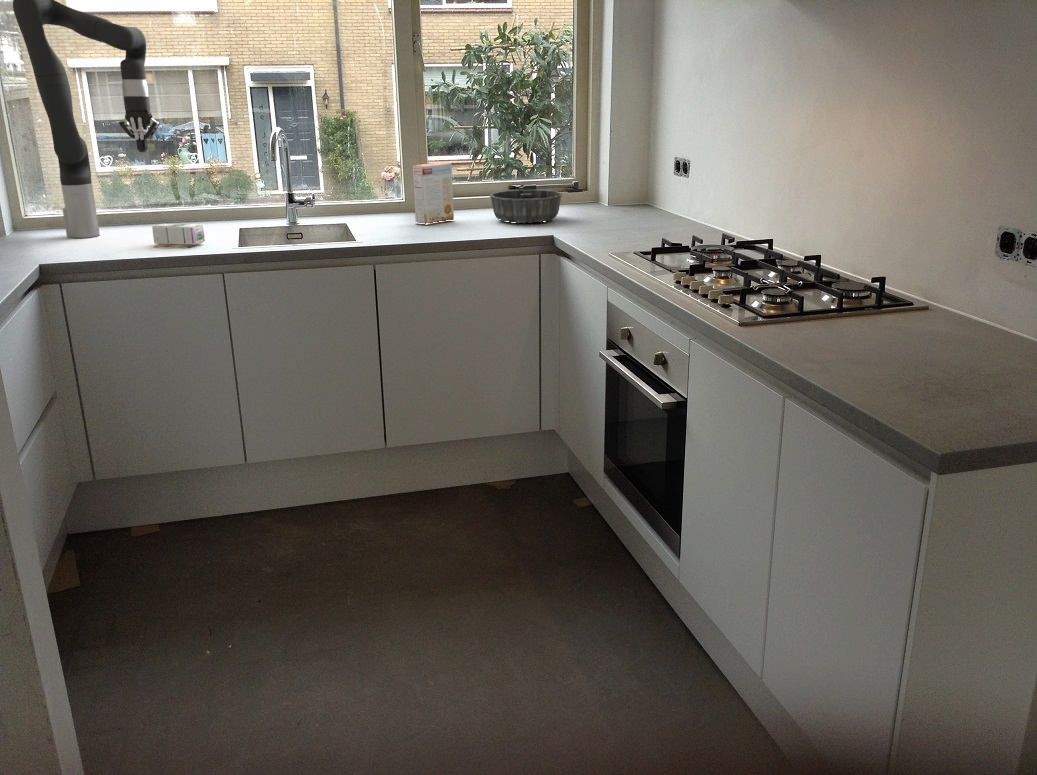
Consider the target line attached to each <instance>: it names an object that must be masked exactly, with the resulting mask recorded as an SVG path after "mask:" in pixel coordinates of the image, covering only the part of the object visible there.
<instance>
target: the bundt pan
mask: <svg viewBox="0 0 1037 775" xmlns="http://www.w3.org/2000/svg"><path fill="white" fill-rule="evenodd" d="M562 196H563V192H559V191H555V190H549V189H545V190H543V189H516V190H515V189H511V190H503V191H497V192H492V193H491V194H490V195H489V198H490V199H491V204H492V205H491V206H492V210H493V214H494V216H495V217H496V219H497V220H499V219H501V220H502V221H501V222H503V221H509V222H517V223H516V224H519V223H524V224H526V223H527V222H528V223H532V224H533V223H534V222H541V223H542V222H543V221H548V222H550V221H552V219H553V220H554V219H555V218H556V217H557V216H558V214H559V212H560V205H561V200H562V199H561V198H562ZM525 222H526V223H525ZM528 223H527V224H528Z"/></svg>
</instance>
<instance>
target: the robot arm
mask: <svg viewBox="0 0 1037 775" xmlns="http://www.w3.org/2000/svg"><path fill="white" fill-rule="evenodd" d="M12 10H13V14H14V17H15V20H16V22H17V24H18V27H19V30H20V33H21V36H22V38H23V41H24V43H25V47H26V49H27V53H28V56H29V59H30V63H31V66H32V71H33V75H34V79H35V83H36V87H37V90H38V92H39V95H40V96H39V97H40V98H41V102H42V105H43V108H44V109H45V113H46V116H47V118H48V121H49V124H50V131H51V135H52V144H53V150H54V154H55V156H56V157H57V159H58V168H59V181H60V185H61V191H62V197H63V204H64V207H62V214H63V221H64V226H65V232H66V237H67V238H73V239H81V238H82V239H86V238H94V237H99V236H100V228H99V221H98V215H97V213H98V212H97V208H96V207H97V206H96V201H95V200H96V199H95V194H94V189H93V183H92V175H91V174H92V170H91V166H90V165H91V164H90V156H89V151H88V150H89V149H88V145H87V143H86V141H85V140H84V138H82V137H81V135H80V133H79V129H78V127H77V125H76V121H75V117H74V109H73V108H74V107H73V98H72V92H71V86H70V82H69V78H68V75H67V74H68V73H67V71H66V67H65V66H64V64H63V62H62V61H61V59H60V58H59V57H58V55H57V54H56V53H55V51H54V50H53V48H52V46H51V45H50V43H49V42H48V39H47V36H46V33H45V29H44V25H52V26H59V27H63V28H66V29H70V30H71V31H73V32H75V33H76V34H78V35H80V36H83V37H85V38H86V39H90V40H92V41H96V42H100V43H103V44H106V45H108V46H109V47H110V46H111V47H112V48H114V49H117V50H120V51H125V58H124V59H123V60H121V61H120V63H119V64H120V65H119V66H120V67H119V68H120V75H121V90H122V98H123V105H124V110H125V113H124V118H123V120H122V121H121V120H120V121H119V122H118V124H119V126H120V127H121V128H122V130H124V131H125V133H126V134H127V135H128V136H129V137H130V138H132V139H135V141H136V143H135V144H136V149H137V151H138V153H146V152H147V151H148V150H149V149H148V148H149V146H148V139H150V138H153V137H154V134H155V133H156V132H157V130H158V128H159V126H160V125H161V124H160V121H157V120H156V119H155V118H153V114H152V112H151V103H150V102H151V101H150V92H149V86H148V83H147V77H146V76H147V75H146V68H145V63H146V57H147V54H146V53H147V40H146V36H145V34H144V33H143V31H142V30H141V29H140V28H138V27H134V26H127V25H121V24H117V23H113V22H112V21H110V20H108V19H106V18H103V17H100V16H97V15H94V14H91V13H88V12H84V11H80V10H77V9H75V8H72V7H69V6H67V5H65V4H62V3H60V2H58V1H56V0H12Z"/></svg>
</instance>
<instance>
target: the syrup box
mask: <svg viewBox="0 0 1037 775" xmlns="http://www.w3.org/2000/svg"><path fill="white" fill-rule="evenodd" d="M151 227H152V237H153V243H154V244H155V245H157V244H189V245H195V246H197V245H199V243H200V244H201V243H204V241H205V242H206V239H205V232H204V231H205V230H204V226H203V224H196V223H195V224H194V223H193V224H191V223H186V224H185V223H159V224H156V225H152V226H151ZM196 244H197V245H196Z"/></svg>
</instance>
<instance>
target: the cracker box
mask: <svg viewBox="0 0 1037 775" xmlns="http://www.w3.org/2000/svg"><path fill="white" fill-rule="evenodd" d="M452 168H453V164H452V162H451V163H450V162H435V163H423V164H415V165H412V180H413V194H414V195H413V196H414V213H415V214H414V216H415V217H414V218H415V223H416V222H418V223H425V224H426V223H433V222H439V221H446V220H453V219H454V220H455V218H454V216H455V214H454V212H455V211H454V189H453V169H452Z"/></svg>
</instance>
